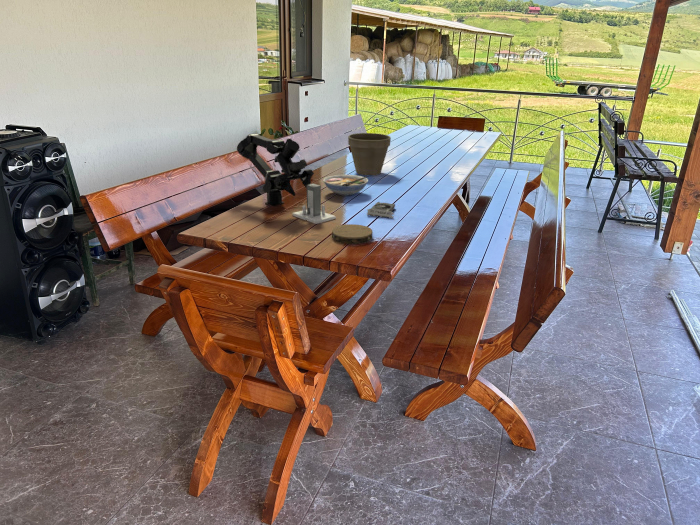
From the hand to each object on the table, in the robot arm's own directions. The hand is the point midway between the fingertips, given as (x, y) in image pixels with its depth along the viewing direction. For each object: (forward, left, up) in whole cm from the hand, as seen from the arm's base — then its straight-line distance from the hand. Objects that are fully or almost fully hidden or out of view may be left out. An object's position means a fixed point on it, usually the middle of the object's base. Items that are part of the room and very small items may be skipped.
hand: (303, 193), depth 230 cm
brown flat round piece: (+35, -14, -10) cm, 39 cm away
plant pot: (-20, +87, -9) cm, 90 cm away
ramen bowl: (-4, +39, -9) cm, 41 cm away
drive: (+7, -2, -8) cm, 11 cm away
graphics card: (+28, +23, -10) cm, 38 cm away
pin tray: (+7, -2, -9) cm, 12 cm away
